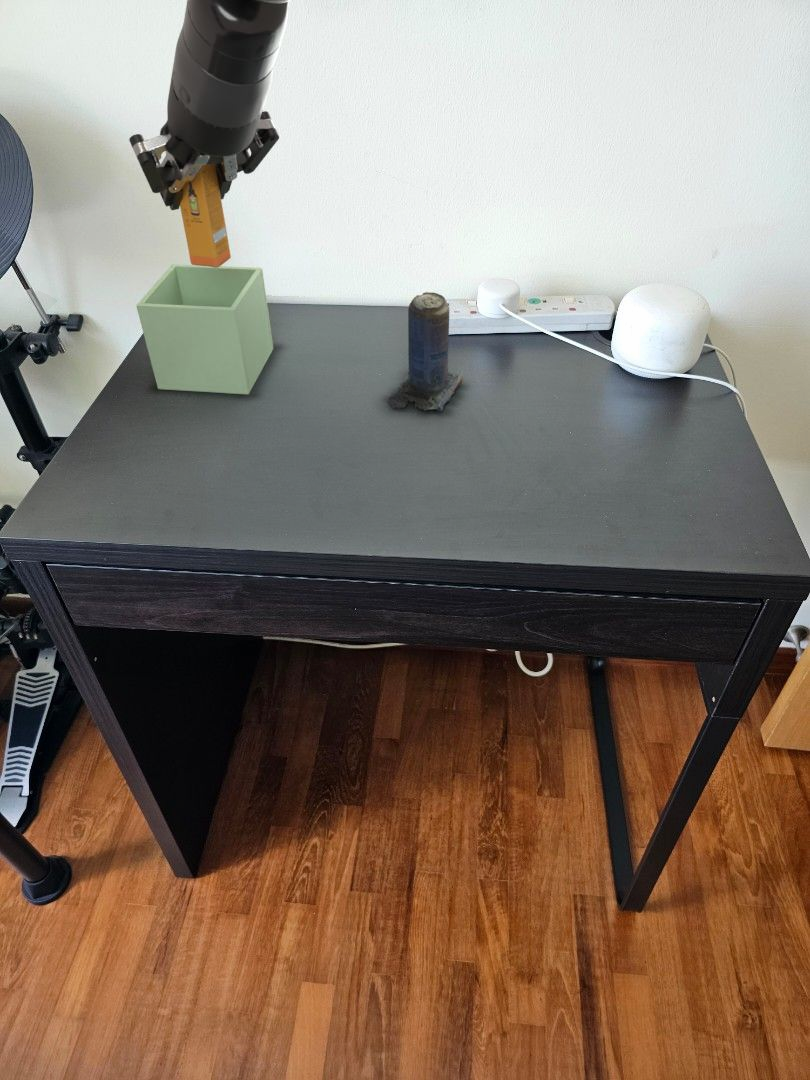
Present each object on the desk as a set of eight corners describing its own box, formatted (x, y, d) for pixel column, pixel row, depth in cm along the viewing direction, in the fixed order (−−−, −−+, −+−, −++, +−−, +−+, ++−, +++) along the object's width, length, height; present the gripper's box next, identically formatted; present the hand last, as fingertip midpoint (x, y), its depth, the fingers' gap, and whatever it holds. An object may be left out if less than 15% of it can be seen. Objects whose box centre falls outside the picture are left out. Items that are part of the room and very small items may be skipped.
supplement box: (234, 256, 83) (216, 155, 77) (217, 269, 81) (198, 165, 74) (206, 253, 84) (187, 152, 78) (189, 265, 82) (168, 162, 75)
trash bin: (248, 394, 93) (234, 309, 86) (157, 389, 94) (135, 305, 87) (273, 348, 101) (262, 267, 94) (189, 344, 102) (172, 264, 95)
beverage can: (451, 417, 88) (454, 317, 80) (384, 410, 90) (381, 310, 82) (464, 376, 95) (468, 280, 87) (402, 370, 96) (400, 274, 88)
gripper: (280, 28, 67) (242, 149, 83) (115, 50, 61) (108, 176, 77) (316, 110, 67) (271, 215, 83) (155, 140, 61) (140, 247, 77)
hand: (193, 196), depth 80 cm, fingers closed on supplement box, 4 cm apart
